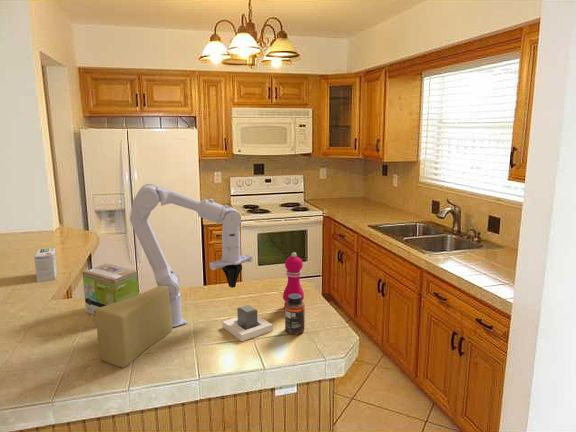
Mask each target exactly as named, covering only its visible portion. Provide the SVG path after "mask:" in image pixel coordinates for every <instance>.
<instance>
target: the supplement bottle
mask: <svg viewBox="0 0 576 432" xmlns="http://www.w3.org/2000/svg"><path fill="white" fill-rule="evenodd" d="M301 300H302V299H301V295H299V294H290V295H289V296H288V301H287V302H286V304H285V308H284V313H285V314H284V318H285V319H284V325H285V326H284V328H285V329H284V330H285V332H287V333H288V334H290V335H298V334H302V333H303V332H304V331H305V324H306V323H305V321H306V320H305V313H306V312H305V308H306V307H305V303H304V302H303V301H301Z"/></svg>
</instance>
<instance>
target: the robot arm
mask: <svg viewBox="0 0 576 432" xmlns="http://www.w3.org/2000/svg"><path fill="white" fill-rule="evenodd" d="M159 203H160V206H161V207H163V206H165V205H166V206H167V205H169V204H173V205H175V206H178V207H181V208H185V209H188V210H192V211H195V212H196V213H197V215H198V217H199V218H202V219H205V220H208V221H211V222H214V223H217V224H222V231H221V247H222V248H221V249H222V250H221V251H222V253H221V254H222V258H220V259H218V260H215V261H211V262H209V269H210V270H212V271H215V270H217V269H222V271H223V273H224V275H225V277H226V281H227V283H228V284H227V285H228V287H230V288H232V289H234V288H235V287H236V286H237V281H238V278H239V276H240V273H241V271H243V265H241V264H243V263H251V262H253V255H251V254H244V255H241V231H240V229H241V227H240V226H241V224H242V218H241V215H240V213H239V212H238V210H237V209H236V208H234V207H232V206H229V205H227V204H224V205H222V204H220V203H217V202H215V201H214V199H212V198H209V199H206V198H205V199H202V200H197V199H195V198H193V197H190V196H188V195H185V194H182V193H180V192H178V191H175V190H172V189H170V188H167V187H164V186H160V185H159V186H157V185H155V184H152V183H146V184H144V185H142V186H141V187H140V188H139V190H138V192H137V194H136V195H135V197H134V198H133V200H132V206H131V210H130V215H129V221H130V224H131V226H132V228H133V230H134V232H135V235H136V237H137V240H138V242H139V244H140V245H141V248H142V250H143V252H144V254H145V257H146V258H147V261H148V263H149V265H150V268H151V269H152V271H153V275H154V280H155V283H156V285H157V287H158V286H167V287H168V291H169V298H170V304H171V314H172V329H173V328H175V327H179V326H182V325H185V324H188V321H187V320H186V319H185V318H184V317H183V313H182V312H183V311H182V310H183V309H182V293H181V291H180V286H179V282H180V277H179V276H178V274H177V273H175V272H174V271H173V270H172V268H171V265H170V264H169V263H168V261H167V259H166V257H165V255H164V252H163V250H162V248H161V245H160V243H159V241H158V238H157V237H156V234H155V232H154V229H153V227H152V225H151V223H150V221H149V217H150V215H151V212H152V211H153V210H155V208H156V207H157V206H158V205H159Z"/></svg>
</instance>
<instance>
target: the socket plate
mask: <svg viewBox="0 0 576 432" xmlns="http://www.w3.org/2000/svg"><path fill="white" fill-rule="evenodd" d="M257 320H258V326H256V327H253V328H250V329H247V330H244V329H243V328H242V327H240V326H239V325H238V316H237V317H232V318H230V319H227V320H224V321H222V328H223V329H225V330H226V331H227V332H228V333H229V334H231V335H232V336H234V337H235V338H236V339H238V340H239V341H241V342H244V341H247V340H249V339H254V338H255V337H259V336H261V335H264V334H267V333H271V332H273V329H274V328H273V324H272V323H270V322H269V321H268V320H265V319H264V318H262V317H261V316H259V315H258V314H257Z"/></svg>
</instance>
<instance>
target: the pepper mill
mask: <svg viewBox="0 0 576 432" xmlns="http://www.w3.org/2000/svg"><path fill="white" fill-rule="evenodd" d="M284 266H285V269H286V276H287V283H286V286H285V288H284V290H283V293H282V299H283V301H284V303H283V304H284V307H283V308H284V309H285V304H286V302H287V301H288V296H289V295H290V294H299V295H301V299H302V300H301V301H302V302H303V301H304V300H305V294H304V290H303V288H302V285H301V282H300V281H301V280H300V277H301V276H302V268H303V267H304V263H303V260H302V258H300V257H299V256H298V255H297V252H295V251H294V252H292V253H291V255H290V256H288V258H286V260H285V261H284Z"/></svg>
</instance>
